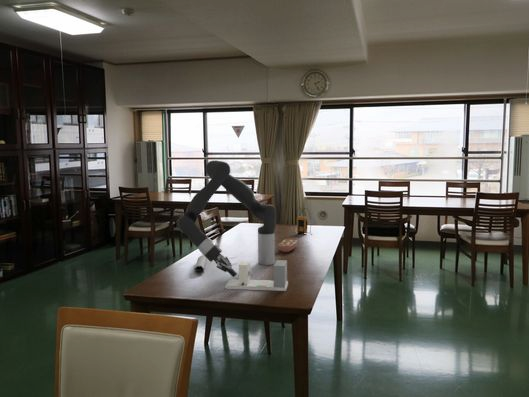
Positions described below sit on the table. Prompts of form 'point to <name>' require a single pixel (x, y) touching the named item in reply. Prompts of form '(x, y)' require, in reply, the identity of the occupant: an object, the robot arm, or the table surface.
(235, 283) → the base
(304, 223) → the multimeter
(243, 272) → the block
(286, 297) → the table surface
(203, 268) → the tube
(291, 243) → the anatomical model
